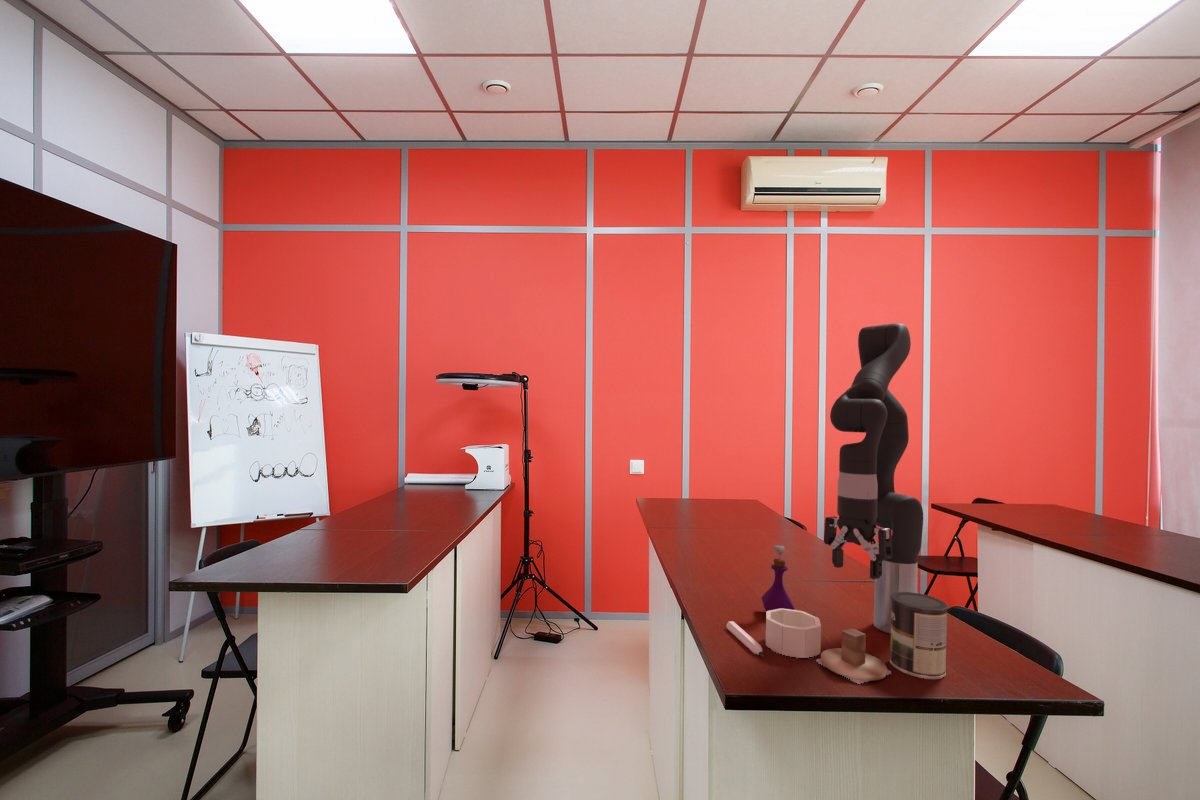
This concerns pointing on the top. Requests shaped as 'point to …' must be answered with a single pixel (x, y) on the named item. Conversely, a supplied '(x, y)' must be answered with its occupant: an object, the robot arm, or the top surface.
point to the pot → (793, 633)
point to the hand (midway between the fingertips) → (855, 572)
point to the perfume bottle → (777, 587)
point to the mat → (851, 678)
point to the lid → (853, 658)
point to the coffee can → (918, 635)
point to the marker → (744, 638)
